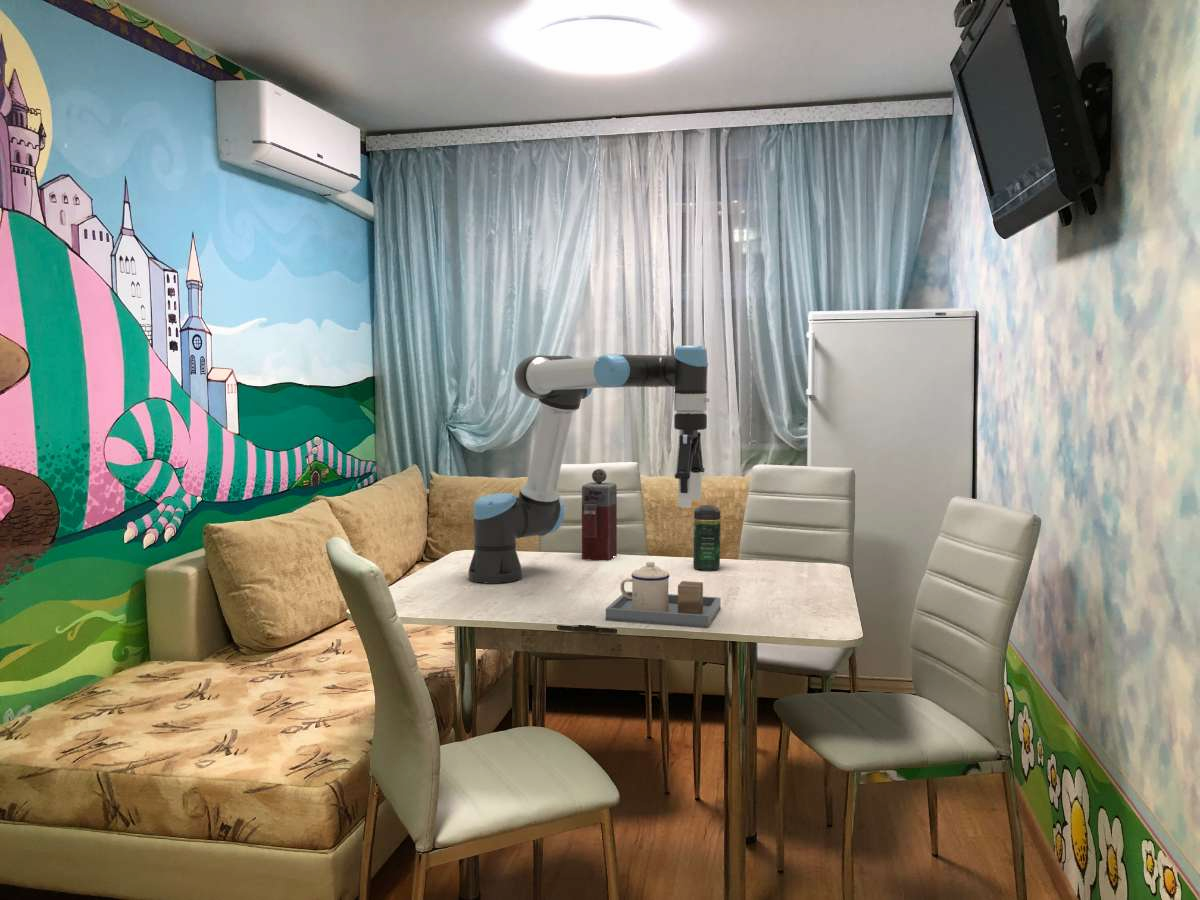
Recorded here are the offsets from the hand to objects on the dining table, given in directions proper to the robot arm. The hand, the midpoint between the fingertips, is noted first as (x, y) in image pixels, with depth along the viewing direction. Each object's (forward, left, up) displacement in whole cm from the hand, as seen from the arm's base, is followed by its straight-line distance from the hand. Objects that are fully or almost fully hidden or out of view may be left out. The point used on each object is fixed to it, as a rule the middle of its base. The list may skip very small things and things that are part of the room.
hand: (690, 503), depth 208 cm
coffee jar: (-5, +55, -27) cm, 61 cm away
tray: (-6, 0, -27) cm, 27 cm away
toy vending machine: (-40, +60, -27) cm, 77 cm away
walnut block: (0, 0, -26) cm, 26 cm away
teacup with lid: (-11, 0, -26) cm, 28 cm away
